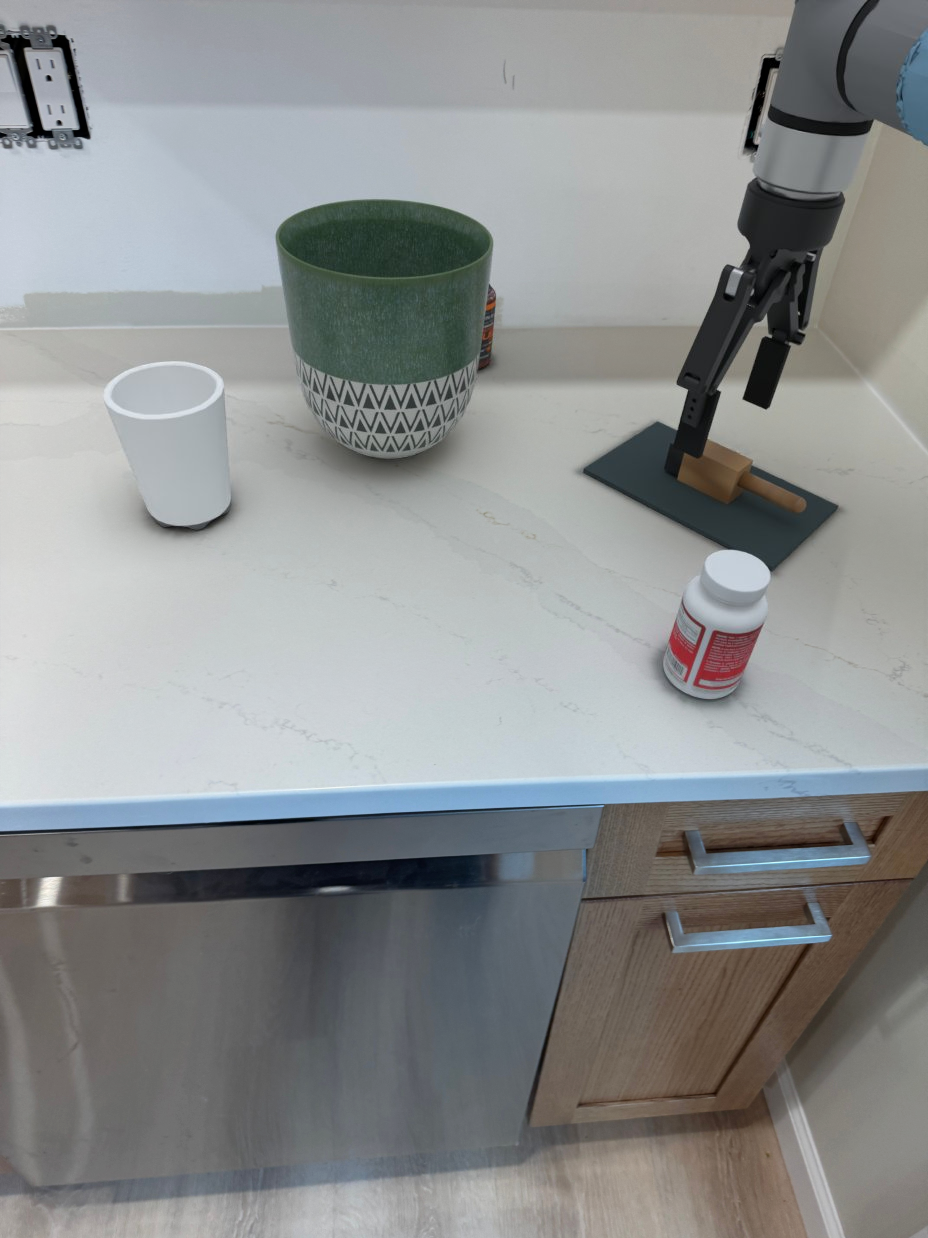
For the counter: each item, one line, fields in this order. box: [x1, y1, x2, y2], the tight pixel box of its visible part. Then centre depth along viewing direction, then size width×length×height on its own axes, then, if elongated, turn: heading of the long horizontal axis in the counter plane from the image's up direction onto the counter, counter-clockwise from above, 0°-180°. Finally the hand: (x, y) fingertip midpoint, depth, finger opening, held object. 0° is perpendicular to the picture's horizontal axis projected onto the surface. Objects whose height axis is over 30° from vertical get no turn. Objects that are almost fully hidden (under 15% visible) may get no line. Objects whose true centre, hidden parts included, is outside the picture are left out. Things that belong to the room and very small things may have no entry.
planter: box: [274, 198, 494, 460], centre depth 81 cm, size 20×20×21 cm
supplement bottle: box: [478, 280, 497, 370], centre depth 99 cm, size 6×6×11 cm
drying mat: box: [582, 420, 839, 572], centre depth 85 cm, size 22×14×1 cm, turn 47°
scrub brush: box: [664, 438, 806, 513], centre depth 82 cm, size 15×3×4 cm, turn 47°
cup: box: [102, 360, 232, 531], centre depth 74 cm, size 10×10×13 cm
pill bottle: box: [662, 549, 772, 700], centre depth 63 cm, size 6×6×11 cm
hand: (723, 426), depth 79 cm, fingers open, 12 cm apart
